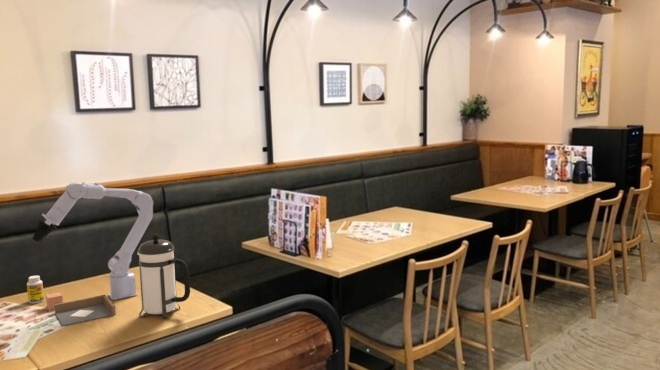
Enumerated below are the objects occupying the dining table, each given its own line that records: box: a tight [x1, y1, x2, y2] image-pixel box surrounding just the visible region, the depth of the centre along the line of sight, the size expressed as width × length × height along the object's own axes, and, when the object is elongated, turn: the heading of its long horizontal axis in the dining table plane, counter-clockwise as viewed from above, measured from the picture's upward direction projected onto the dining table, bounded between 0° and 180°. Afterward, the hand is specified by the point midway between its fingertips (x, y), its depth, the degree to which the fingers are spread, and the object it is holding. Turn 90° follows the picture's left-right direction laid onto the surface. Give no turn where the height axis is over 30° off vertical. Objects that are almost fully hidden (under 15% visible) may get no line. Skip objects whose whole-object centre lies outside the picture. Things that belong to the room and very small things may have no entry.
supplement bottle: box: [26, 275, 45, 304], centre depth 216 cm, size 6×6×10 cm
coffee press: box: [137, 233, 191, 320], centre depth 201 cm, size 17×16×30 cm
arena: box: [54, 294, 117, 327], centre depth 202 cm, size 18×16×3 cm
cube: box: [45, 292, 64, 311], centre depth 210 cm, size 5×5×5 cm
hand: (36, 240), depth 203 cm, fingers open, 7 cm apart
